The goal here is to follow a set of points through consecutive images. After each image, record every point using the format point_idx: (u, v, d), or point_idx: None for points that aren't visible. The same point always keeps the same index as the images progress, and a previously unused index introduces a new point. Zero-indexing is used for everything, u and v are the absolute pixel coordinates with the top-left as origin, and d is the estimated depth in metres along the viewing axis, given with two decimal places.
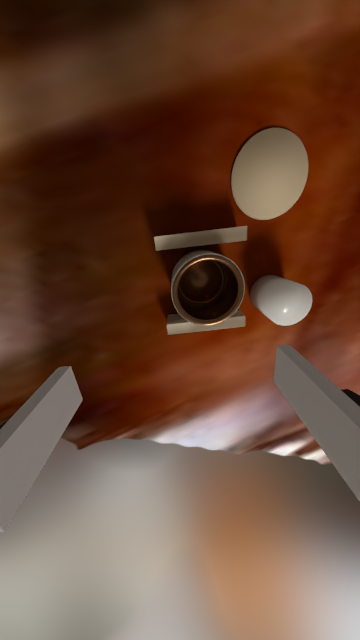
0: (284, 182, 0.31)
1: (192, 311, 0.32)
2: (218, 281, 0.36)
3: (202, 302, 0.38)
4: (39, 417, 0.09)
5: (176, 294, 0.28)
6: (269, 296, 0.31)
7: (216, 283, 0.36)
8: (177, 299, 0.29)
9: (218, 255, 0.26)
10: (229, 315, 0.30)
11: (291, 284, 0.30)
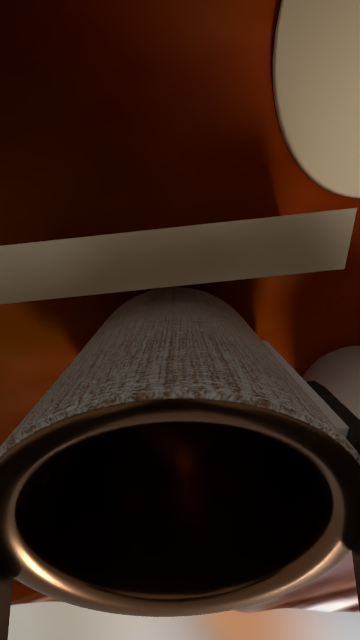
0: None
1: (135, 505, 0.09)
2: None
3: None
4: None
5: (14, 553, 0.05)
6: None
7: None
8: (27, 564, 0.06)
9: (239, 402, 0.04)
10: (275, 595, 0.07)
11: None
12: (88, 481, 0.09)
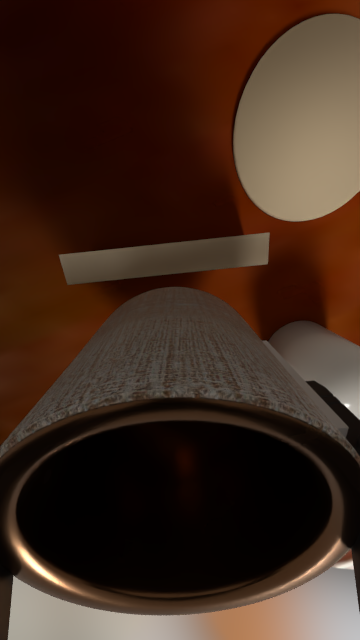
0: (344, 144, 0.15)
1: (136, 505, 0.09)
2: None
3: None
4: None
5: (15, 551, 0.06)
6: None
7: None
8: (28, 563, 0.06)
9: (239, 401, 0.04)
10: (275, 594, 0.07)
11: None
12: (88, 480, 0.09)
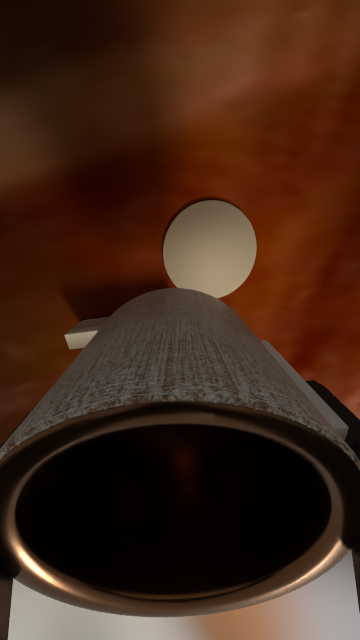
0: (228, 259, 0.25)
1: (135, 506, 0.09)
2: None
3: None
4: None
5: (14, 553, 0.06)
6: None
7: None
8: (27, 565, 0.06)
9: (238, 405, 0.04)
10: (274, 596, 0.07)
11: None
12: (88, 482, 0.09)
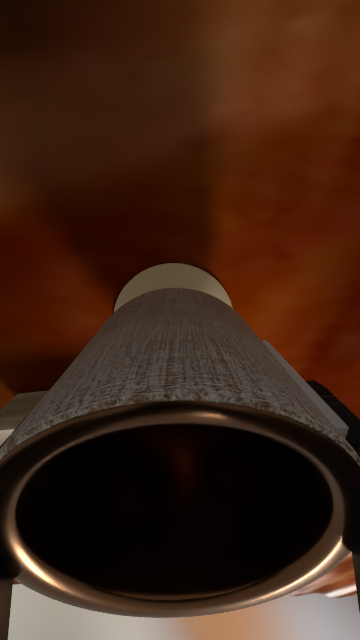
0: None
1: (135, 506, 0.09)
2: None
3: None
4: None
5: (14, 554, 0.05)
6: None
7: None
8: (27, 565, 0.06)
9: (240, 404, 0.04)
10: (275, 596, 0.07)
11: None
12: (88, 482, 0.09)
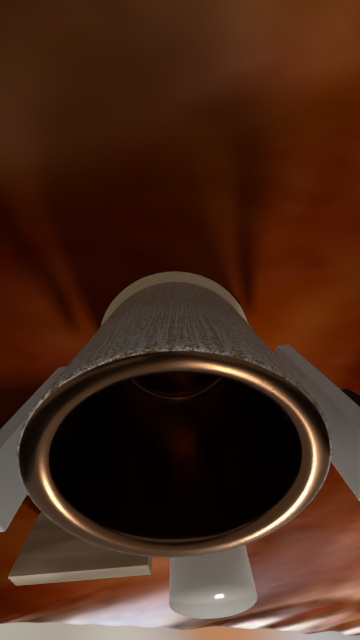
0: None
1: (141, 471, 0.11)
2: None
3: (182, 397, 0.16)
4: None
5: (46, 489, 0.07)
6: (172, 585, 0.16)
7: None
8: (55, 501, 0.07)
9: (222, 354, 0.05)
10: (260, 536, 0.08)
11: (210, 583, 0.14)
12: (100, 448, 0.10)
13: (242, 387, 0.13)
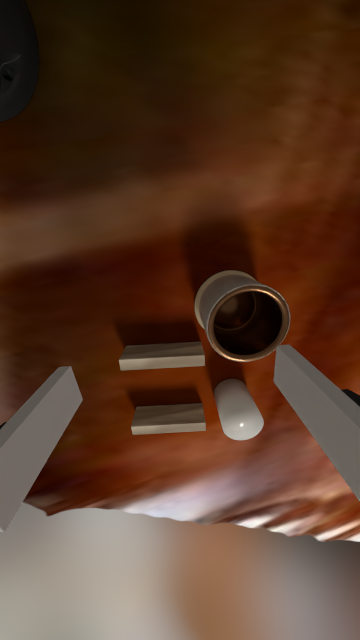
0: None
1: (224, 343, 0.29)
2: (250, 309, 0.33)
3: (230, 330, 0.34)
4: (39, 417, 0.09)
5: (212, 326, 0.25)
6: (224, 416, 0.33)
7: (248, 310, 0.33)
8: (213, 332, 0.25)
9: (264, 286, 0.23)
10: (269, 351, 0.26)
11: (243, 409, 0.32)
12: None
13: (261, 318, 0.31)
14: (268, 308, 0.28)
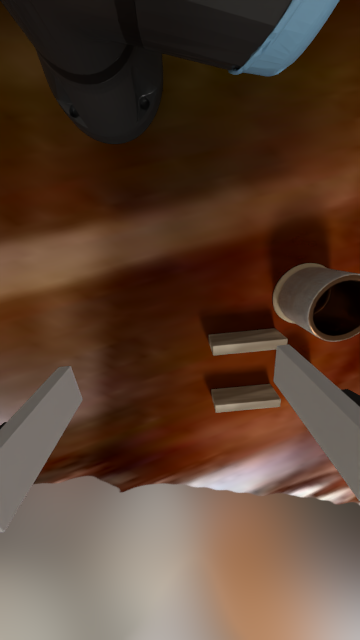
0: None
1: None
2: (325, 296, 0.37)
3: None
4: (39, 417, 0.09)
5: (313, 312, 0.29)
6: None
7: (323, 298, 0.37)
8: (312, 316, 0.30)
9: None
10: (358, 331, 0.31)
11: None
12: None
13: (339, 304, 0.35)
14: (351, 294, 0.33)
